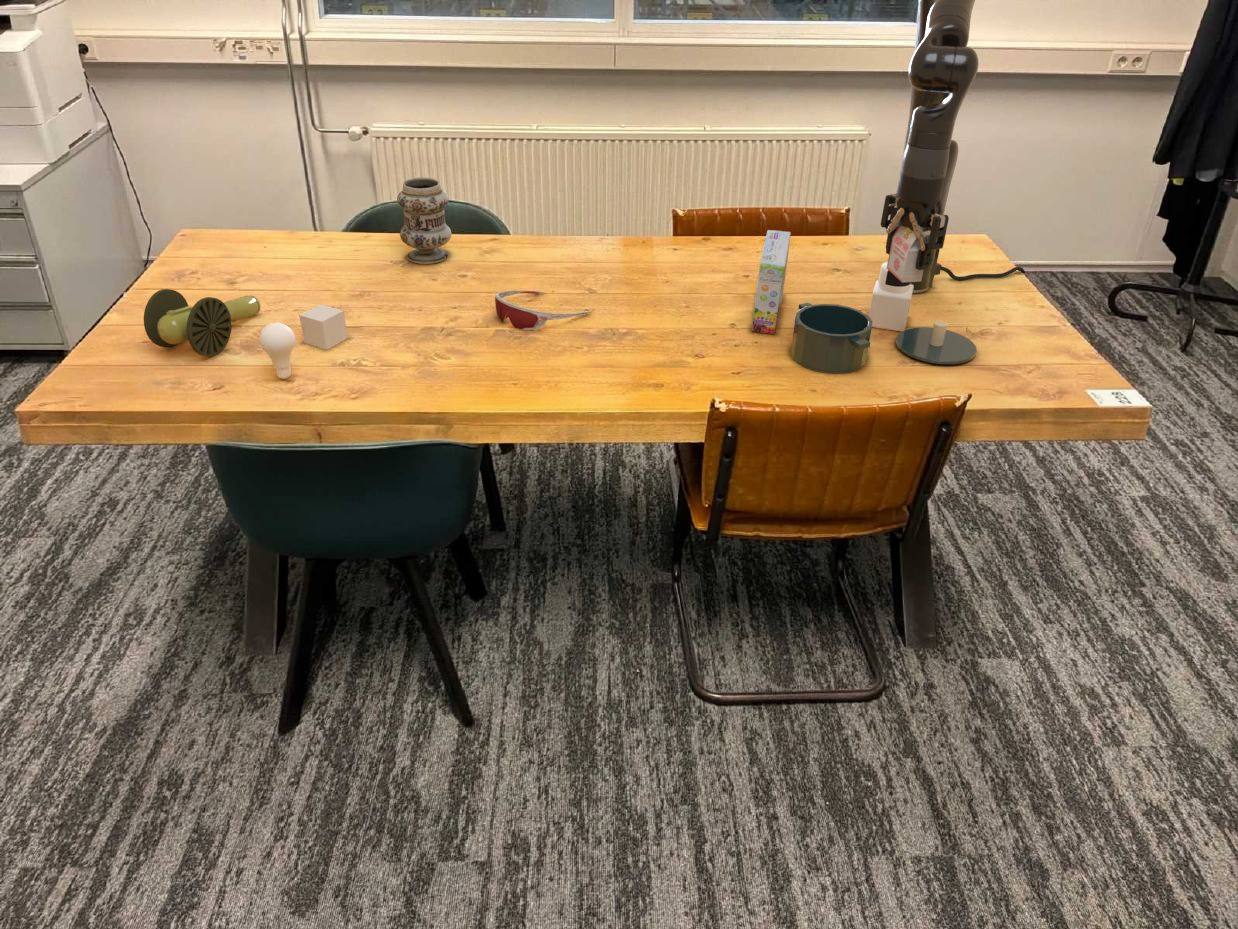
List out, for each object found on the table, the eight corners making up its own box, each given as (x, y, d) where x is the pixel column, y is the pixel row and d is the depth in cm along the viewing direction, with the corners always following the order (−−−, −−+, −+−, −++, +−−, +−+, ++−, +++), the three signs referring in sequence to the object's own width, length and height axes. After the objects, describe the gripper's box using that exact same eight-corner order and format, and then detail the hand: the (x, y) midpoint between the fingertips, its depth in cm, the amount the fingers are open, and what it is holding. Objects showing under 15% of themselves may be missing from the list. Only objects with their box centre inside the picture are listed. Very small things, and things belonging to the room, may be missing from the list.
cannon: (232, 308, 201) (221, 257, 195) (279, 317, 198) (269, 266, 191) (145, 358, 181) (129, 303, 175) (195, 369, 178) (181, 314, 172)
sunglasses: (477, 313, 200) (479, 290, 198) (535, 303, 212) (537, 282, 210) (532, 339, 191) (535, 315, 188) (590, 327, 203) (593, 304, 200)
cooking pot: (828, 329, 197) (833, 294, 193) (889, 371, 182) (897, 333, 178) (769, 342, 192) (773, 305, 188) (827, 385, 177) (833, 347, 173)
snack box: (777, 335, 194) (786, 266, 186) (750, 332, 195) (757, 263, 187) (783, 295, 212) (791, 230, 203) (758, 292, 213) (765, 227, 204)
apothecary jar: (448, 266, 222) (442, 190, 212) (397, 265, 222) (388, 189, 212) (456, 248, 232) (451, 175, 223) (408, 247, 232) (400, 173, 223)
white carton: (905, 266, 176) (915, 214, 170) (921, 281, 170) (932, 227, 165) (886, 268, 175) (896, 215, 170) (902, 282, 170) (912, 228, 164)
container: (907, 317, 203) (918, 260, 196) (904, 332, 197) (916, 273, 189) (870, 312, 205) (880, 255, 198) (866, 326, 199) (876, 268, 192)
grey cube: (326, 349, 186) (321, 321, 182) (304, 342, 188) (298, 315, 185) (348, 338, 190) (343, 310, 187) (325, 331, 193) (320, 304, 189)
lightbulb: (271, 370, 178) (260, 317, 172) (305, 370, 179) (294, 316, 172) (264, 386, 173) (252, 331, 167) (298, 385, 173) (287, 331, 167)
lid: (939, 327, 199) (944, 302, 196) (992, 358, 187) (999, 332, 184) (879, 340, 194) (884, 314, 190) (930, 373, 182) (936, 346, 179)
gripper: (969, 179, 158) (949, 271, 168) (912, 157, 169) (896, 245, 178) (935, 185, 156) (916, 278, 165) (879, 162, 166) (864, 250, 175)
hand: (905, 261), depth 171 cm, fingers closed on white carton, 7 cm apart
